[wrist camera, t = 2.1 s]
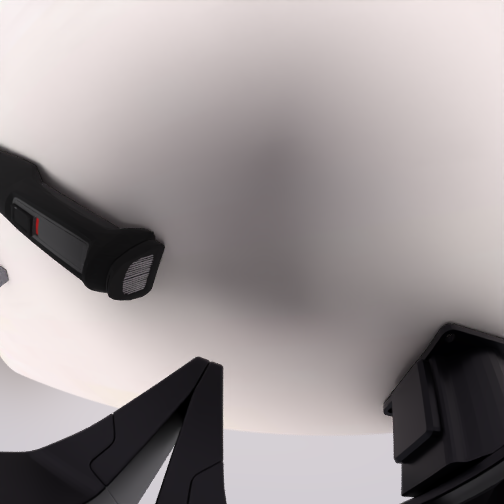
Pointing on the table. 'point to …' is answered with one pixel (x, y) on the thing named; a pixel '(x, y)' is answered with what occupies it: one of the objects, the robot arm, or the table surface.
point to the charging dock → (3, 276)
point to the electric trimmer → (78, 234)
